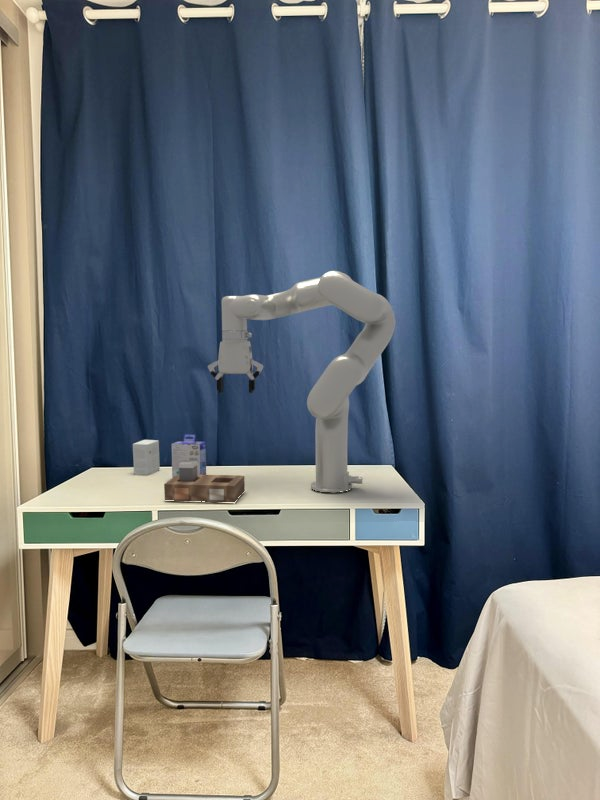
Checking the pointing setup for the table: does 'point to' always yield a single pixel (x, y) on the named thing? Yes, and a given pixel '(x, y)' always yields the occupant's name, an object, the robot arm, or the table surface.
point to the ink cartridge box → (189, 454)
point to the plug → (188, 471)
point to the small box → (146, 457)
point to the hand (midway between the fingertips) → (235, 392)
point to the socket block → (206, 488)
